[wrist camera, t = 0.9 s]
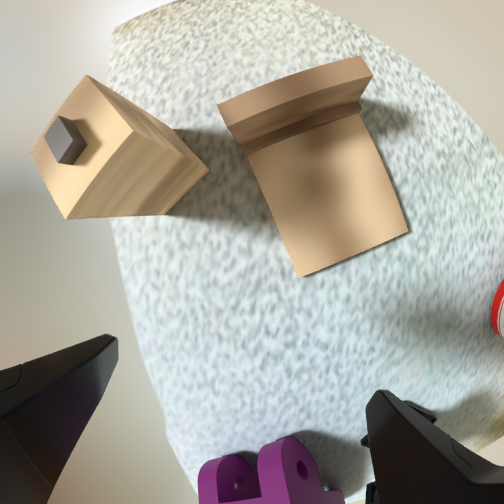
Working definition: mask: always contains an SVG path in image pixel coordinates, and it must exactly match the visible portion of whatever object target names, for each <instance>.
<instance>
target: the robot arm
mask: <svg viewBox="0 0 504 504" xmlns="http://www.w3.org/2000/svg"><path fill="white" fill-rule="evenodd" d="M117 361H118V339H117V338H116V337H115V336H112V335H109V334H103V335H101V336H98V337H95V338H92V339H90V340H87V341H84V342H82V343H79V344H76V345H73V346H71V347H68V348H65V349H62V350H59V351H57V352H54V353H51V354H48V355H45V356H43V357H40V358H37V359H34V360H31V361H28V362H25V363H23V364H19V365H16V366H14V367H11V368H7V369H4V370H0V504H47V502H48V500H49V497H50V495H51V493H52V491H53V489H54V486H55V484H56V482H57V480H58V478H59V476H60V474H61V472H62V470H63V468H64V466H65V464H66V462H67V460H68V459H69V457H70V455H71V453H72V451H73V449H74V447H75V445H76V443H77V441H78V439H79V438H80V436H81V434H82V432H83V430H84V429H85V427H86V425H87V423H88V421H89V420H90V418H91V416H92V414H93V413H94V411H95V409H96V407H97V405H98V404H99V402H100V400H101V398H102V396H103V394H104V392H105V389H106V387H107V385H108V382H109V380H110V378H111V375H112V373H113V371H114V369H115V366H116V364H117ZM366 420H367V430H368V434H367V435H366V436H365V437H364V438H363V439H361V441H360V442H361V445H362V446H365V447H368V448H370V453H371V458H372V464H373V469H374V475H375V482H371V483H369V484H367V488H366V503H365V504H504V466H498V465H495V464H493V463H491V462H489V461H487V460H486V459H484V458H482V457H481V456H479V455H477V454H476V453H474V452H472V451H471V450H469V449H467V448H466V447H464V446H463V445H461V444H460V443H458V442H457V441H456V440H454V439H453V438H451V437H450V435H447V434H446V433H445V432H443V431H442V430H440V429H439V428H438V427H436V426H435V425H434V424H433V423H434V422H435V421H436V420H437V418H436V416H435V415H433V414H431V413H428V412H426V411H424V410H422V409H420V408H418V407H416V406H414V405H412V404H410V403H408V402H403V401H402V400H400V399H399V398H398V397H396V396H395V395H394V394H392V393H391V392H390V391H388V390H377V391H376V392H375V393H374V395H373V396H372V398H371V399H370V401H369V402H368V404H367V406H366ZM365 441H366V442H365Z"/></svg>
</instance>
